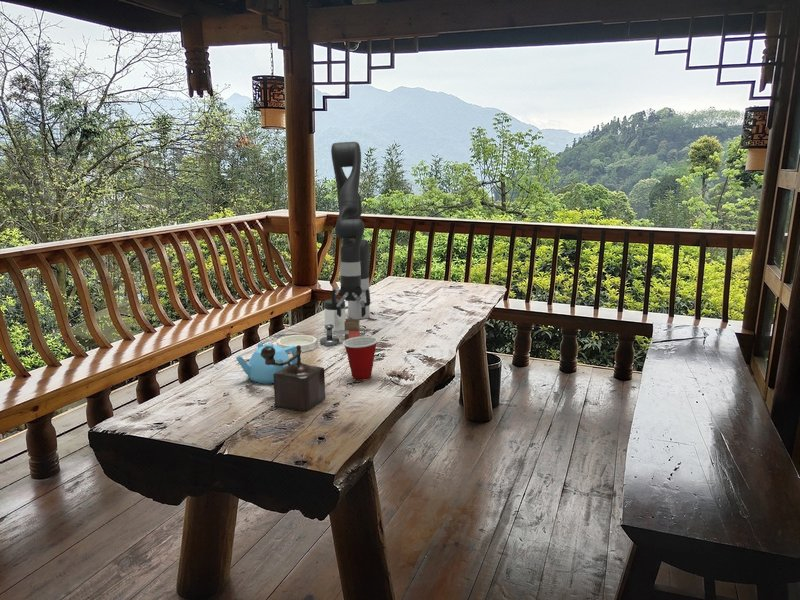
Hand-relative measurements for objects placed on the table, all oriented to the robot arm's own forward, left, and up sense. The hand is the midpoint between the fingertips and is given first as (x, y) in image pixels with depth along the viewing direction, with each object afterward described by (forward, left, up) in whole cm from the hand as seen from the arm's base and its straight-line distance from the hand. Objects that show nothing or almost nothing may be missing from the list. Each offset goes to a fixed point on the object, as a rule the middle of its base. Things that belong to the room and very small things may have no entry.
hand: (351, 316), depth 223 cm
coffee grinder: (+52, -38, -9) cm, 65 cm away
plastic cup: (+40, -13, -9) cm, 43 cm away
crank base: (+2, -9, -9) cm, 13 cm away
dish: (+1, -21, -9) cm, 23 cm away
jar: (-13, -1, -9) cm, 16 cm away
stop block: (0, 0, -9) cm, 9 cm away
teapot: (+27, -38, -9) cm, 48 cm away
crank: (+4, -4, -8) cm, 9 cm away
